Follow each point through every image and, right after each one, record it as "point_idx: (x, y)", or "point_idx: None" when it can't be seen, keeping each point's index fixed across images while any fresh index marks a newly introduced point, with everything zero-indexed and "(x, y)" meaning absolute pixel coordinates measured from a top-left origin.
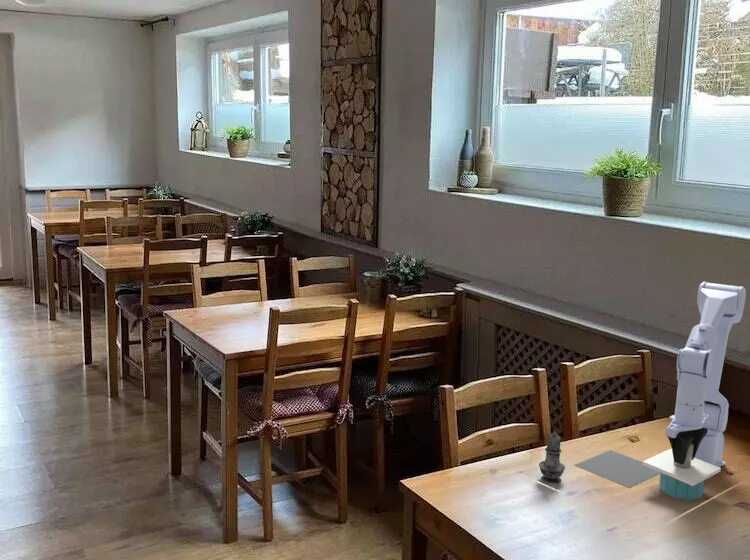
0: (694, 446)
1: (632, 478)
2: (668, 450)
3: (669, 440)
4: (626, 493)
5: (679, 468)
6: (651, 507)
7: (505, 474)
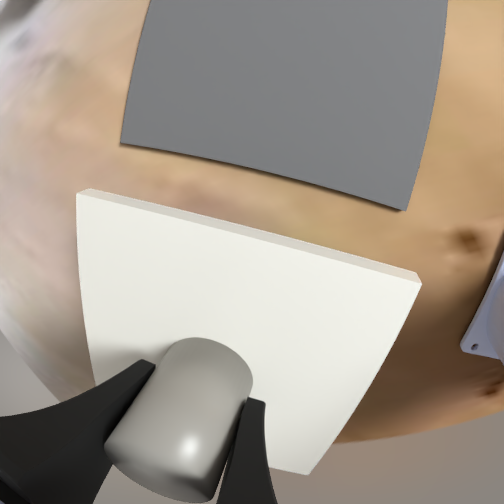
0: (219, 494)
1: (211, 109)
2: (371, 278)
3: (26, 414)
4: (95, 149)
5: (156, 366)
6: (74, 251)
7: None
